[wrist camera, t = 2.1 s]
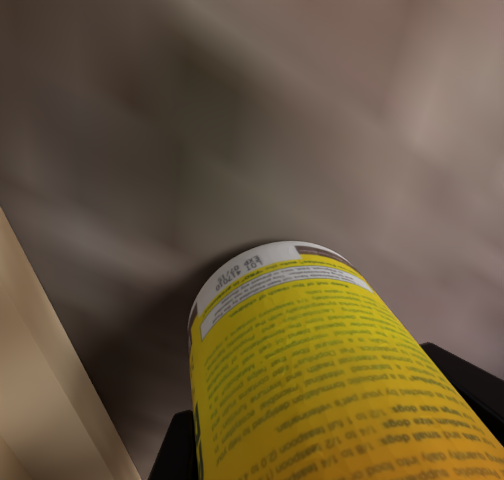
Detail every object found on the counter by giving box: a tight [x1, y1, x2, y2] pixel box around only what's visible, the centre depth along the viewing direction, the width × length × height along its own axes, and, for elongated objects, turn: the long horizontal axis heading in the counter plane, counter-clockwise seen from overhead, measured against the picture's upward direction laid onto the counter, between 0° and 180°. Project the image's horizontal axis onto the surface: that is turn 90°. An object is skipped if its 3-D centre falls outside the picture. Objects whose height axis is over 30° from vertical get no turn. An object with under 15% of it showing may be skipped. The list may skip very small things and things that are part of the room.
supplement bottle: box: [188, 241, 504, 480], centre depth 8 cm, size 6×6×10 cm
